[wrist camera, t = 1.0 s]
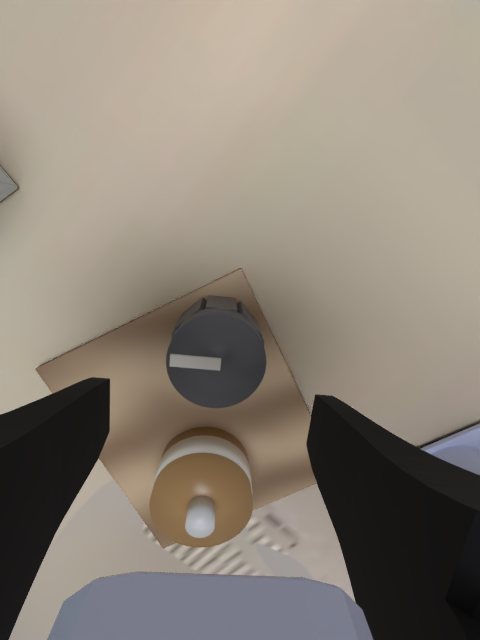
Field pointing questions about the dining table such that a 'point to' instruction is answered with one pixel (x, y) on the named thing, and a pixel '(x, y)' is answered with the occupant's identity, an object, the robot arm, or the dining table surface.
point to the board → (188, 404)
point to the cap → (216, 353)
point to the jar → (202, 488)
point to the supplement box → (6, 185)
